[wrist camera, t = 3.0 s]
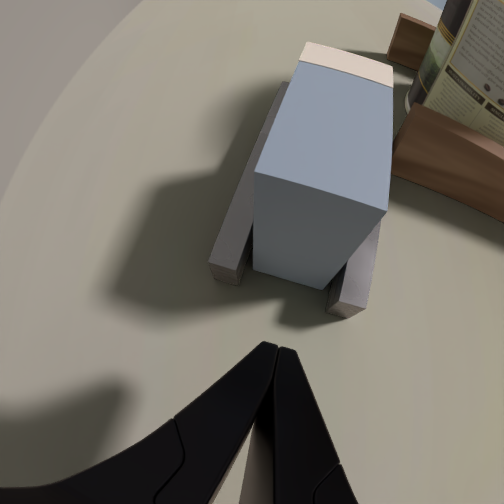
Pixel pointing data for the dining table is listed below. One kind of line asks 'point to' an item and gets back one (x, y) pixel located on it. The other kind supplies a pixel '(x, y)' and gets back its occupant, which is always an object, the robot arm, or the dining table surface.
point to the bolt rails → (241, 238)
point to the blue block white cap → (324, 166)
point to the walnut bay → (443, 139)
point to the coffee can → (465, 67)
